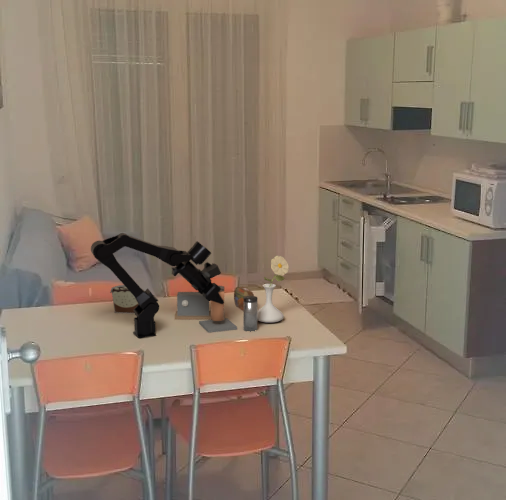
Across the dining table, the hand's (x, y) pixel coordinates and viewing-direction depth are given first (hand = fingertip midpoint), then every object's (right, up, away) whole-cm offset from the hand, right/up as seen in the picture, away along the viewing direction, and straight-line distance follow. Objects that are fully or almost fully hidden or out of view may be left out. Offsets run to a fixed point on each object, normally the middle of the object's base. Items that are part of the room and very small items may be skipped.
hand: (221, 301), depth 252 cm
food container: (-37, -6, +20) cm, 43 cm away
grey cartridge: (+11, -10, -2) cm, 15 cm away
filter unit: (-11, -7, +14) cm, 19 cm away
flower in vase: (+18, -8, +9) cm, 22 cm away
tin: (+8, -5, +24) cm, 26 cm away
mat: (-1, -9, +2) cm, 10 cm away
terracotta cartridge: (-1, -7, +1) cm, 7 cm away
